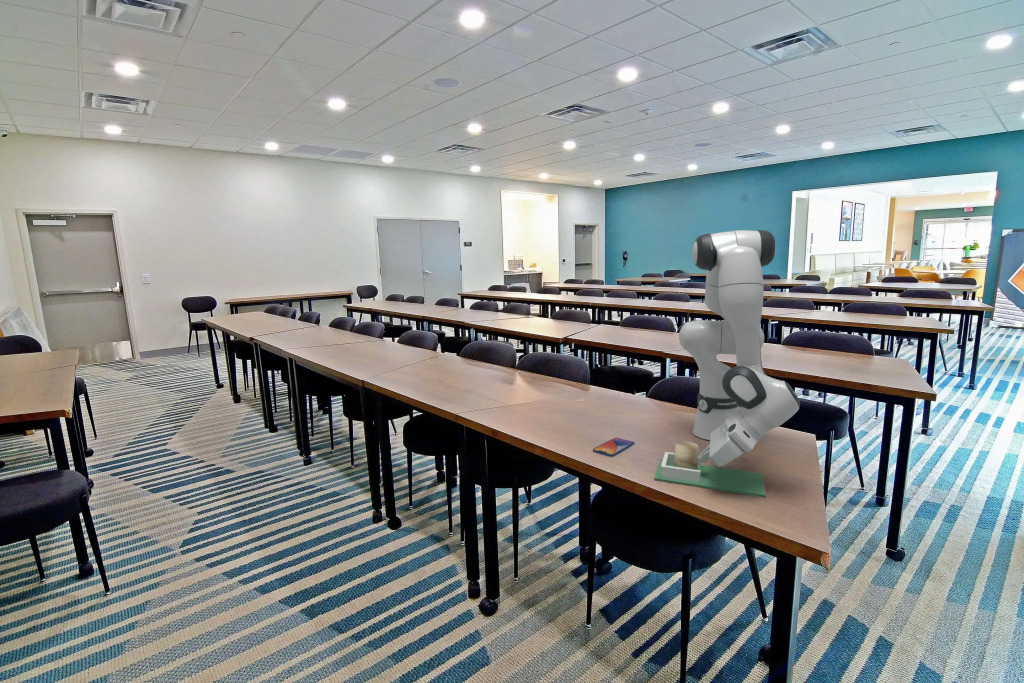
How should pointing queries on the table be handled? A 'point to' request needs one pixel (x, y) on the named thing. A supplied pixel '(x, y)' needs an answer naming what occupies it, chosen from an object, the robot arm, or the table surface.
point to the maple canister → (686, 455)
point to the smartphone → (613, 447)
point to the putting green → (710, 477)
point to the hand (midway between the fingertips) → (700, 459)
